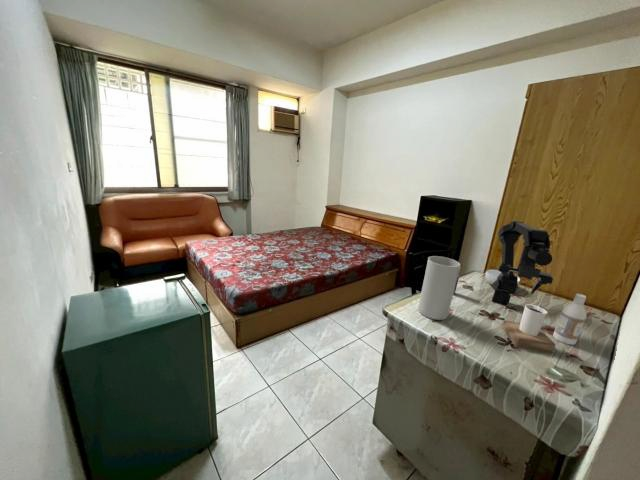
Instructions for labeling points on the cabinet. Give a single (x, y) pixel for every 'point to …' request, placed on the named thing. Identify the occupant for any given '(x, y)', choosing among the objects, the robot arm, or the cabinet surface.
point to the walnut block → (527, 338)
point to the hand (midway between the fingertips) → (518, 290)
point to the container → (457, 280)
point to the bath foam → (571, 321)
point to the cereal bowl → (494, 276)
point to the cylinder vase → (438, 287)
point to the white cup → (532, 319)
